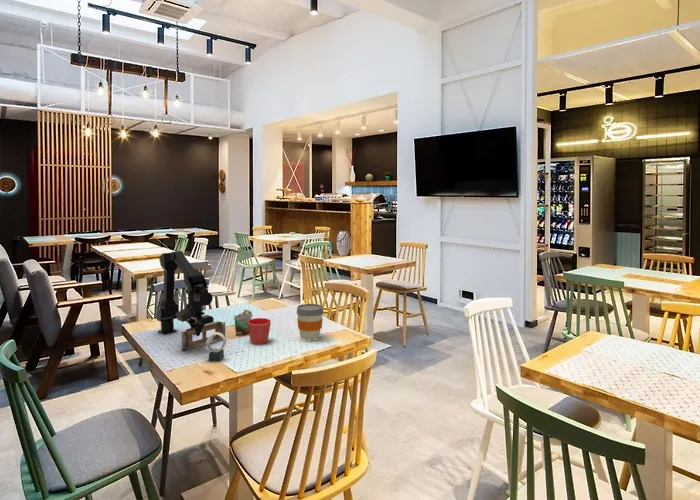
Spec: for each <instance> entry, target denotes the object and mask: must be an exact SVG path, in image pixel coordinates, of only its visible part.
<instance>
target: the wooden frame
mask: <svg viewBox="0 0 700 500" xmlns="http://www.w3.org/2000/svg"><path fill="white" fill-rule="evenodd" d="M221 322H222V321H214V322H213V323H209V324H205V325H204V327H203V329H202V331H201V333H202V338H201V339H198V340H197V339H196V340H193V339H194V338H193V337H194V336H195V335H194V334H196V330H195V327H194V328H191V327H189V328H187V329H185V332H186V340H187V349H190V348H193V347H197V346H200V345H203V344H206V341H207V339H208V337H207V332H208V331H209V332H210V331H212V330H214V331H215V332H219V333H222V323H221ZM215 332H214V333H215ZM221 339H222V337H221V336H219V335H215V337H214V338H213V340H212V342H215V341H220V340H221Z"/></svg>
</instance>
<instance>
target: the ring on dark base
mask: <svg viewBox="0 0 700 500" xmlns="http://www.w3.org/2000/svg"><path fill="white" fill-rule="evenodd" d="M215 335H219V336H221V337H222V338H223V340H222V344H221V346H220V348H218V349H217V348H215V349H214V348H212V346H211V343H212V342H213V341H212V340H213V338H214V337H215ZM225 336H226V335H225ZM225 336H224V335H223V334H222V333H219V332H212V333H210V334H209V336H208V337H207V338H208V339H207V341H206V343H205V345H206V348H207V350H208V351H210V352H209V353H208V361H209V362H221V360H222V359H223V358H224V357H225V352H224V351H225V349H224V348H225V346H226V344H227V339H226V338H225Z"/></svg>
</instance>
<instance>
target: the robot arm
mask: <svg viewBox="0 0 700 500" xmlns="http://www.w3.org/2000/svg"><path fill="white" fill-rule="evenodd" d="M158 258H159V264H160V267H161V268H162V270H163V299H162V301H161V302H160V304H159V307H158V311H157V312H156V315H155V319H156V320H157V321H158V322H160V329H159V330H157V332H159V333H161V334H163V335H166V334H171V333H174V332H175V333H176V332H177V329H175V326H174V325H175V323H174V320H176V319H177V320H178V321H179V322H181V323H184V322H187V324H188V325H189V328H194V327H195V330H196V334H194V335H193V336H196V337H200V335H201V333H202V332H201V331H202V329H203V327H204V325H206V324H210V323H214V322H215V321H214V319H215V318H214V317H213V316H212V315H209V314H205V312H204V311H203V307H204V306H205V307H206V306H209V305H211V304H212V302H213V298H214V297H213V295H212V293H211V292H209V286H208V285H209V284H208V282H207V280H206V278H205V275H204V274H203V273H202V272H201V271H200V270H199V269H196V268H194V267H193V265H192V264H191V263H190V261H189V260H188V259H187V258H186V256H185V253H184V252H183V251H181V250H177V251H176V250H175V251H172V252H171V251H170V252H162V254H161V255H159V257H158ZM177 269H179V270H180V272H181V273H182V274H183V277H184V278H183V281H184V283H185V286H186V291H187V296H188V297H187V299H188V300H187V301H188V302H187V303H186V304H185V308H182V309H181V310H179V305H178V304H177V302H176V301H175V281H176V270H177Z"/></svg>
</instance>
